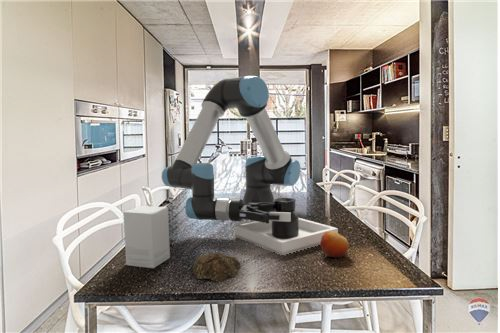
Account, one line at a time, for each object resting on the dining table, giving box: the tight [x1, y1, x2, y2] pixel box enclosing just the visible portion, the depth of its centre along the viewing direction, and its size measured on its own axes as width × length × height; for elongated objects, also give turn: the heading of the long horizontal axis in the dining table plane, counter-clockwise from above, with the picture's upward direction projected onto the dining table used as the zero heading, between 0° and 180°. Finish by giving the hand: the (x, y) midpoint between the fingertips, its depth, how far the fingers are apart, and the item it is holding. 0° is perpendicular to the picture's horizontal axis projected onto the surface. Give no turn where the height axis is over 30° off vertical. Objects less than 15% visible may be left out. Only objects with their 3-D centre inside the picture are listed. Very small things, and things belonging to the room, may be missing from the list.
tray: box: [234, 217, 339, 256], centre depth 126 cm, size 24×24×4 cm
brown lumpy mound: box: [191, 252, 242, 282], centre depth 99 cm, size 13×12×5 cm
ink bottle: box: [272, 197, 300, 239], centre depth 126 cm, size 10×9×12 cm
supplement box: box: [122, 205, 171, 269], centre depth 106 cm, size 9×9×15 cm
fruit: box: [320, 231, 350, 259], centre depth 109 cm, size 8×8×8 cm
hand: (293, 212), depth 125 cm, fingers open, 13 cm apart
